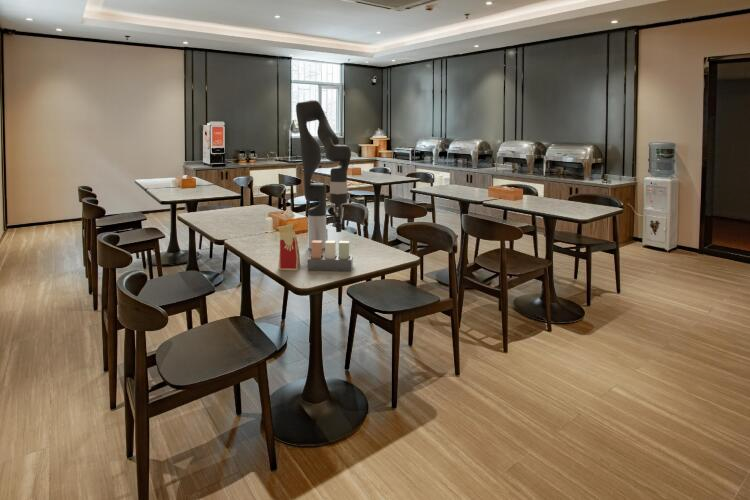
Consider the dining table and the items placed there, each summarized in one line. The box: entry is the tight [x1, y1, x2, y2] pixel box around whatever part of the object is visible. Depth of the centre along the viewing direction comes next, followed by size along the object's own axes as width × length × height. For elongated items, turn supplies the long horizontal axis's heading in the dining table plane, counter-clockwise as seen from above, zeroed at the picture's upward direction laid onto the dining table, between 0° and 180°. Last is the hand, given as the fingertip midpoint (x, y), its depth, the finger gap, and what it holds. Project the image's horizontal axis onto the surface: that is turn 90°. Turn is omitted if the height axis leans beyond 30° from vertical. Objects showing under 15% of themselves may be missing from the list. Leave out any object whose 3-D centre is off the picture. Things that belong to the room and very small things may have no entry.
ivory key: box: [324, 240, 337, 259], centre depth 224 cm, size 4×4×7 cm
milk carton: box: [276, 223, 301, 271], centre depth 223 cm, size 9×9×20 cm
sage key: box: [338, 240, 350, 259], centre depth 224 cm, size 4×4×7 cm
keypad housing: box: [307, 253, 354, 272], centre depth 225 cm, size 19×9×5 cm, turn 89°
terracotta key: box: [310, 240, 323, 259], centre depth 224 cm, size 4×4×7 cm
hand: (338, 231), depth 222 cm, fingers closed
